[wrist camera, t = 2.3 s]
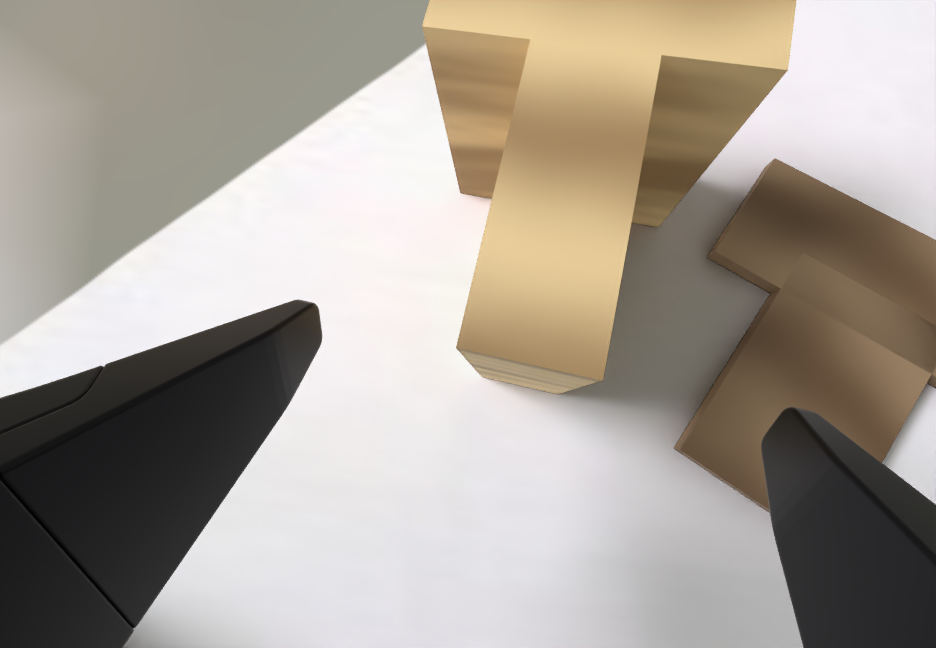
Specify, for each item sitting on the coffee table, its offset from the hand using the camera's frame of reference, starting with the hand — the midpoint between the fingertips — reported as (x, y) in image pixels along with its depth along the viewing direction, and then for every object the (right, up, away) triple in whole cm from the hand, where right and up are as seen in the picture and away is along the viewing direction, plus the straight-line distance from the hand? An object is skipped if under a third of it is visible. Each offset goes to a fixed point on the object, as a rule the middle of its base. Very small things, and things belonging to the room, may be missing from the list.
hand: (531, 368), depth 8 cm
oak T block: (+3, +5, +13) cm, 14 cm away
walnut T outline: (+15, 0, +11) cm, 18 cm away
